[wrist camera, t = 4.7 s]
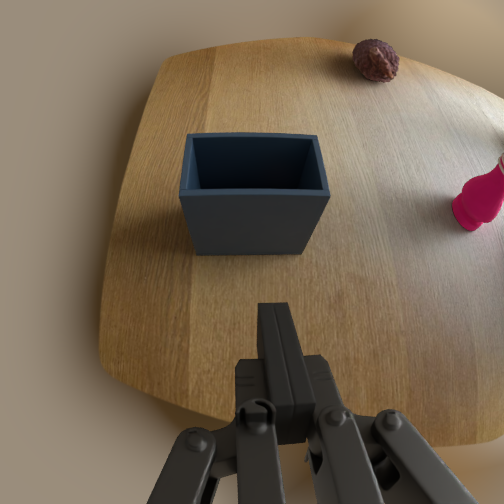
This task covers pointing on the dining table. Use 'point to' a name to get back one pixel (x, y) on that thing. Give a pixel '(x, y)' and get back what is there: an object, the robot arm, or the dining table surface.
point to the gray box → (252, 192)
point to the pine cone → (376, 60)
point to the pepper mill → (480, 198)
